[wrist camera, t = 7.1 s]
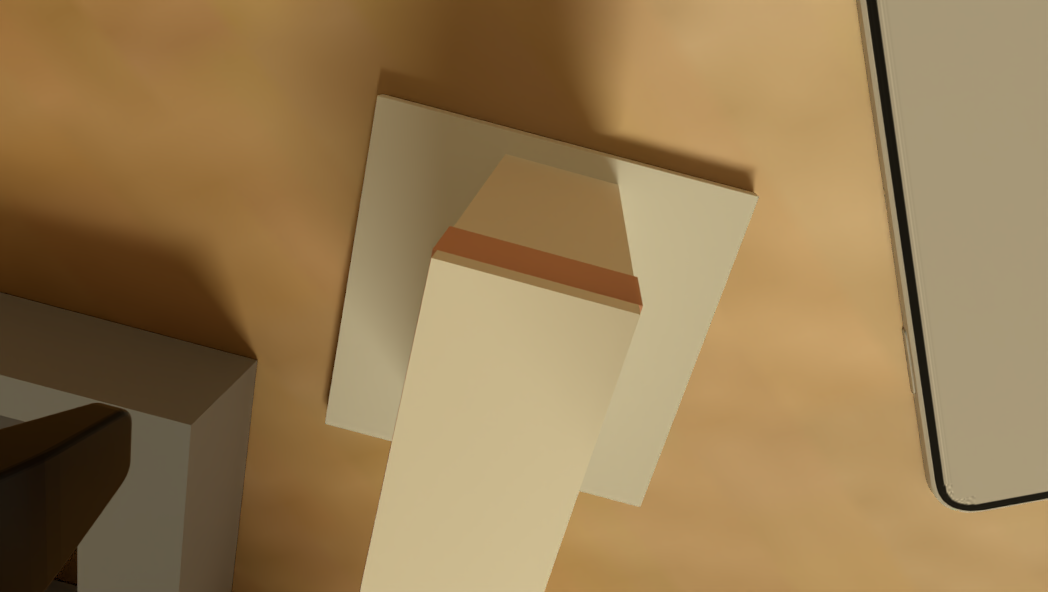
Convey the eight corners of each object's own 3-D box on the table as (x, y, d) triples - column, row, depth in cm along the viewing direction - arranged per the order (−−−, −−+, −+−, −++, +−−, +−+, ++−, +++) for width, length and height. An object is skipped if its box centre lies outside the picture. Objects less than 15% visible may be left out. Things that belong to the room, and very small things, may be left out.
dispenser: (224, 650, 21) (160, 758, 18) (-35, 581, 21) (-145, 677, 17) (257, 360, 17) (183, 433, 14) (-59, 276, 17) (-204, 330, 14)
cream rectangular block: (534, 461, 17) (498, 734, 10) (435, 434, 17) (334, 691, 10) (620, 185, 14) (644, 315, 8) (503, 153, 14) (427, 256, 8)
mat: (639, 496, 17) (640, 506, 17) (330, 415, 17) (324, 423, 17) (754, 192, 14) (758, 197, 14) (383, 93, 14) (377, 95, 14)
